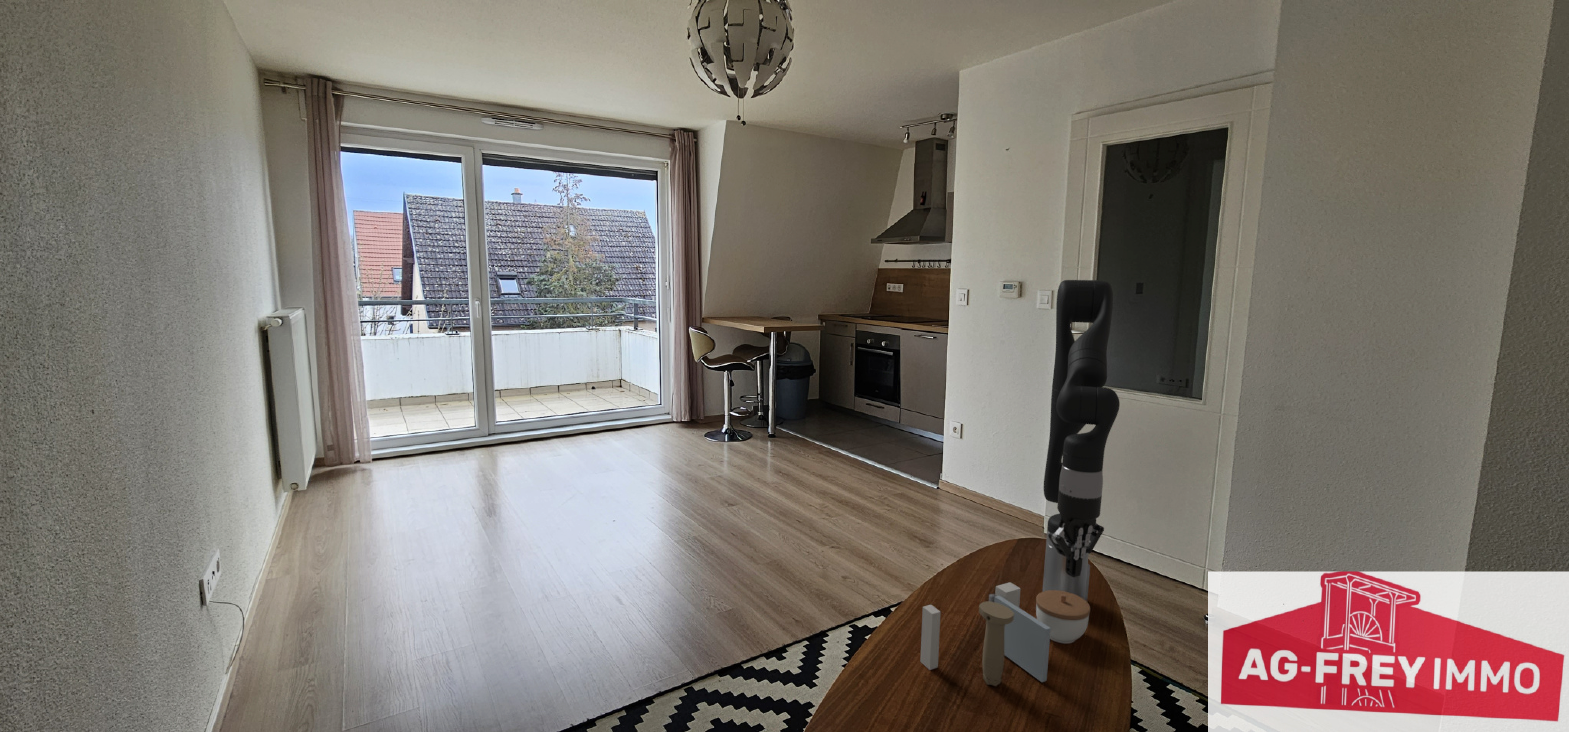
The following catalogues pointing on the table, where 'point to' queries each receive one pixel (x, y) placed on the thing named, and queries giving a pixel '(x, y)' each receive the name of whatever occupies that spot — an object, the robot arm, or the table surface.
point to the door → (1026, 640)
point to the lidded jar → (1063, 614)
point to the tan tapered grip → (994, 640)
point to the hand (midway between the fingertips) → (1073, 574)
